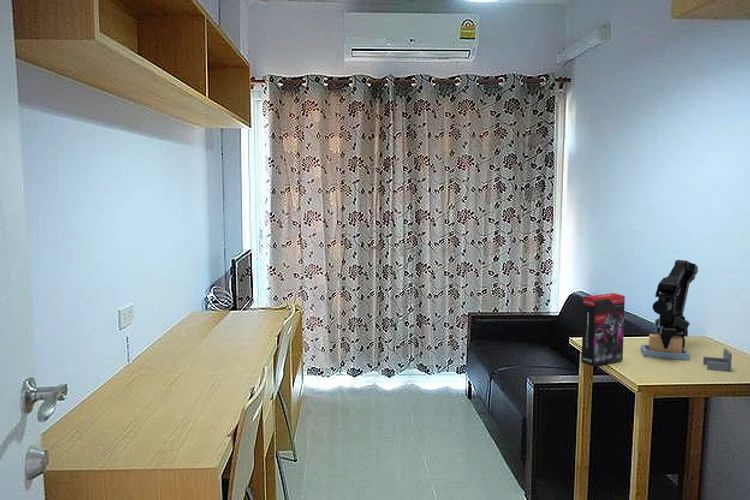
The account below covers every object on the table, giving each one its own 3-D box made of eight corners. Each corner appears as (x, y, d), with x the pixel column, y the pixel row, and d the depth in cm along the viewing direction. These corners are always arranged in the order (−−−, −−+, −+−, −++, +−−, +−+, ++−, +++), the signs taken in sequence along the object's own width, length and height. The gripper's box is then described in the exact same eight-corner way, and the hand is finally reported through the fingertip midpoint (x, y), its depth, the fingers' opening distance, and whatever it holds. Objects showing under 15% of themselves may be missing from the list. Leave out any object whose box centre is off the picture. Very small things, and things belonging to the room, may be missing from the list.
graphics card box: (592, 367, 237) (596, 299, 233) (579, 362, 243) (582, 295, 239) (623, 361, 244) (626, 295, 241) (609, 357, 251) (612, 292, 247)
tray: (643, 356, 252) (644, 350, 251) (640, 350, 261) (641, 344, 261) (689, 360, 247) (689, 354, 246) (684, 353, 256) (684, 348, 256)
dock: (707, 369, 235) (708, 352, 234) (702, 363, 243) (704, 346, 242) (730, 371, 233) (731, 353, 232) (725, 365, 240) (726, 348, 239)
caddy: (650, 350, 253) (651, 336, 252) (648, 347, 258) (649, 334, 257) (681, 353, 250) (682, 339, 249) (679, 350, 254) (680, 336, 254)
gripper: (693, 316, 241) (690, 354, 242) (684, 307, 258) (681, 342, 260) (662, 314, 244) (660, 352, 246) (655, 305, 262) (653, 340, 263)
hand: (664, 347), depth 254 cm, fingers closed on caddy, 5 cm apart
